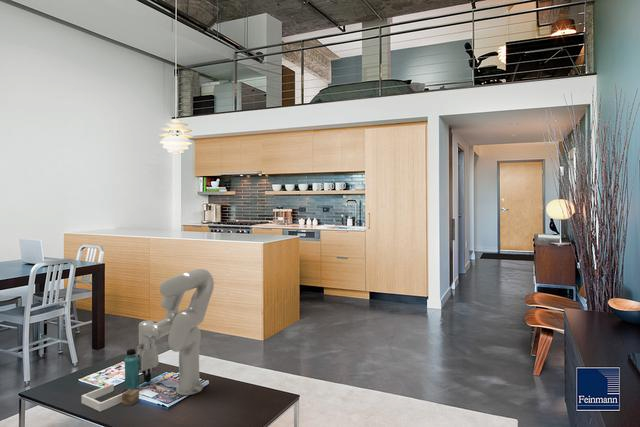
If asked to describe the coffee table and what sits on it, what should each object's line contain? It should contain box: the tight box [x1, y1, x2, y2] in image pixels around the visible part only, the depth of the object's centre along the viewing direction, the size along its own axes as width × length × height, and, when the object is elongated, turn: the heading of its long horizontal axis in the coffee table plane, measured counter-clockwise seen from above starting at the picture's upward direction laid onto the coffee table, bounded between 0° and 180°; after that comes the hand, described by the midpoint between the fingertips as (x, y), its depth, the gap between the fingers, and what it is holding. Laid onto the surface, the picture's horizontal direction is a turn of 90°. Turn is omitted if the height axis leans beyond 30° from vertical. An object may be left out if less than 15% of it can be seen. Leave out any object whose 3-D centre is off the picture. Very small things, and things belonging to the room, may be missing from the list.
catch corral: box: [80, 383, 124, 413], centre depth 195 cm, size 15×15×4 cm
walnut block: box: [121, 388, 140, 406], centre depth 194 cm, size 5×5×5 cm
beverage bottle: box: [124, 348, 140, 390], centre depth 206 cm, size 6×7×20 cm
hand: (147, 381), depth 214 cm, fingers closed
